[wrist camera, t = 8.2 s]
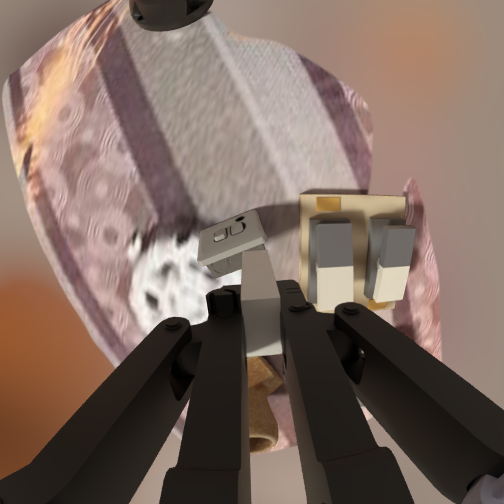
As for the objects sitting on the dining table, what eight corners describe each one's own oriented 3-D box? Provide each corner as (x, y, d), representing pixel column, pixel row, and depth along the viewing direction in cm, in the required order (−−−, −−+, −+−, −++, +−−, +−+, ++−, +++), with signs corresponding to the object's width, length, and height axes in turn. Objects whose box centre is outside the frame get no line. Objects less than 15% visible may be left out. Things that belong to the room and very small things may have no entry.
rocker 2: (381, 224, 37) (388, 228, 35) (408, 223, 37) (416, 228, 35) (370, 295, 42) (376, 302, 39) (396, 292, 42) (402, 299, 39)
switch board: (299, 194, 41) (304, 195, 37) (399, 195, 41) (411, 197, 38) (298, 312, 46) (302, 323, 43) (389, 303, 46) (399, 312, 43)
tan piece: (245, 413, 53) (246, 467, 38) (202, 387, 51) (193, 443, 36) (297, 377, 50) (311, 433, 36) (254, 346, 48) (258, 404, 33)
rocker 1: (313, 225, 39) (317, 224, 37) (345, 224, 39) (351, 223, 37) (316, 307, 39) (320, 311, 37) (347, 304, 39) (353, 307, 37)
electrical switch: (255, 207, 42) (261, 222, 33) (267, 237, 43) (275, 259, 35) (199, 230, 42) (190, 250, 34) (213, 259, 44) (207, 285, 35)
